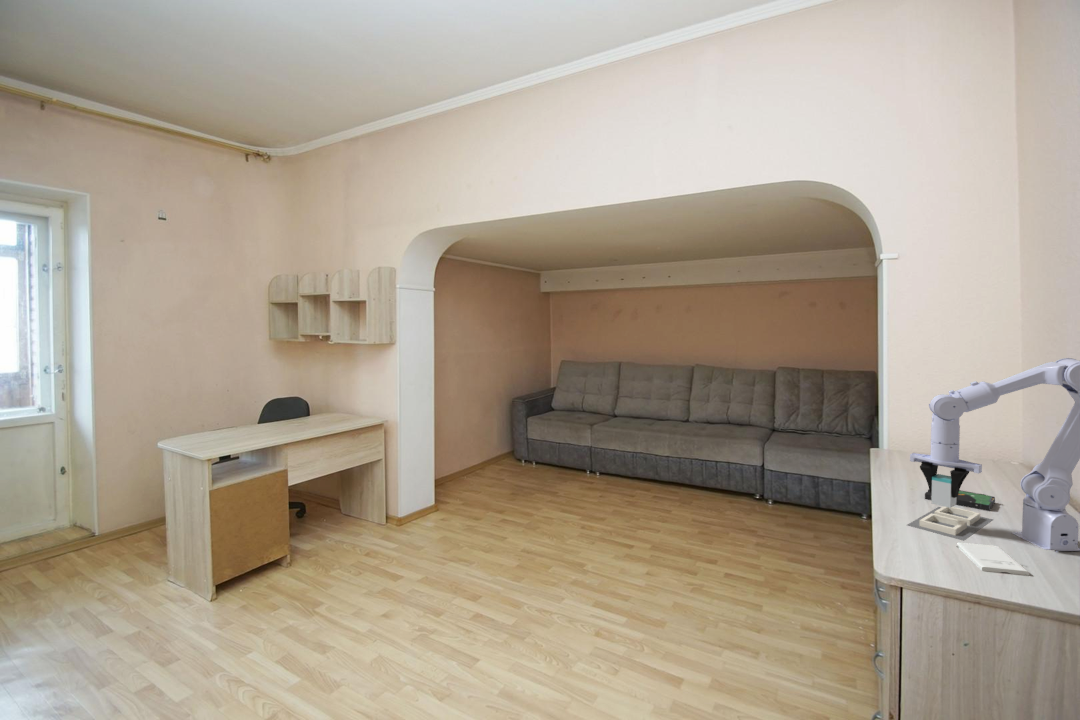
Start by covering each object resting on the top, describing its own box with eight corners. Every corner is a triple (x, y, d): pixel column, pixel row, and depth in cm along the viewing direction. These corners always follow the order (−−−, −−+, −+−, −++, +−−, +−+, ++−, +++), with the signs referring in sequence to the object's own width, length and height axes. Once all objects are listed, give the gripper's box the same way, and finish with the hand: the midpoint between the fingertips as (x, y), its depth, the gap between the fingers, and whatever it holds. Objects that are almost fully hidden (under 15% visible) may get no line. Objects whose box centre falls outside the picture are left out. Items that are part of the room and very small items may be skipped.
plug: (950, 507, 129) (951, 480, 128) (931, 503, 132) (931, 476, 131) (956, 504, 131) (957, 477, 130) (937, 500, 134) (938, 473, 134)
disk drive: (924, 503, 151) (990, 514, 141) (924, 493, 151) (991, 505, 140) (931, 493, 158) (995, 504, 148) (931, 485, 158) (995, 495, 147)
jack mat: (963, 542, 123) (963, 540, 123) (906, 526, 133) (906, 525, 133) (993, 521, 135) (993, 519, 135) (938, 508, 145) (938, 506, 145)
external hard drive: (998, 552, 119) (1029, 578, 107) (956, 548, 122) (981, 573, 110) (999, 545, 119) (1029, 570, 107) (956, 541, 122) (981, 565, 110)
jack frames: (955, 535, 126) (955, 529, 126) (919, 525, 133) (919, 520, 132) (980, 518, 136) (980, 513, 136) (945, 510, 142) (945, 505, 142)
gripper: (987, 444, 126) (985, 498, 127) (918, 435, 138) (917, 484, 139) (976, 449, 122) (975, 504, 123) (906, 439, 134) (905, 489, 135)
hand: (943, 494), depth 131 cm, fingers closed on plug, 4 cm apart
